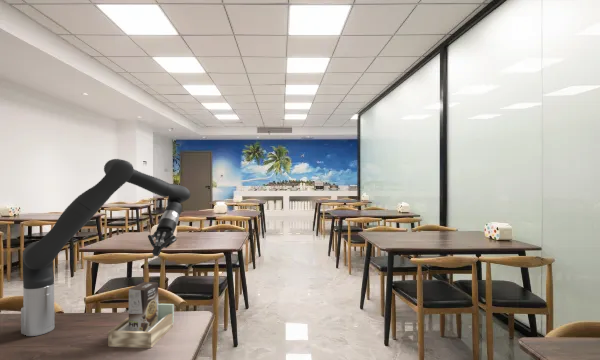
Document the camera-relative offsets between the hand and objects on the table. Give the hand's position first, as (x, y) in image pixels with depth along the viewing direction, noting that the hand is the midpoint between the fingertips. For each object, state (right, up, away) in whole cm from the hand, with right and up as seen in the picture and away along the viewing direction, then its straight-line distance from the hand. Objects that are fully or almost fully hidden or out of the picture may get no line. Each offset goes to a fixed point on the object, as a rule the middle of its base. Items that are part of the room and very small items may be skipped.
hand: (155, 255), depth 145 cm
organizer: (+4, -25, -20) cm, 32 cm away
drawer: (+4, -24, -18) cm, 30 cm away
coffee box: (+4, -23, -18) cm, 30 cm away
